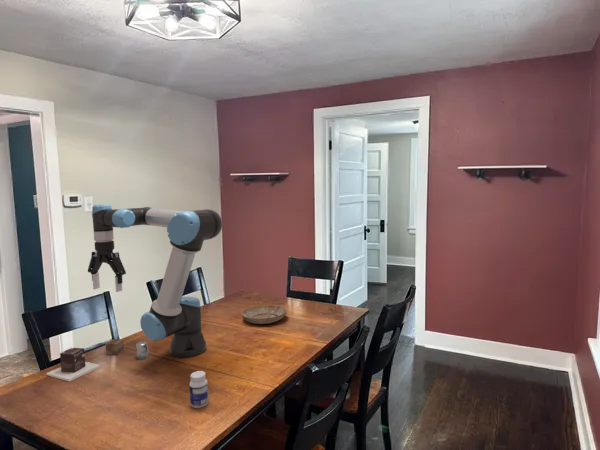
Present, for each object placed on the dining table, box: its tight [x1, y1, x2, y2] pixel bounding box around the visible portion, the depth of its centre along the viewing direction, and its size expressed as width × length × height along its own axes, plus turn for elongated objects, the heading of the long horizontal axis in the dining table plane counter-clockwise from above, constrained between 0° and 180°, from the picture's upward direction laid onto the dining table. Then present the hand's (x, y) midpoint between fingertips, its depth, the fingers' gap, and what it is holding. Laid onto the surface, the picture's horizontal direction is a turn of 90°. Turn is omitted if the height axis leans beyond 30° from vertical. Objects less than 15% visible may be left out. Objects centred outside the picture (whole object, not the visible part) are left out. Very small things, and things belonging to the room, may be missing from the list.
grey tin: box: [135, 340, 149, 361], centre depth 169 cm, size 4×4×6 cm
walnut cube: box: [104, 338, 125, 356], centre depth 175 cm, size 5×5×5 cm
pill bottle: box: [188, 370, 210, 409], centre depth 131 cm, size 6×6×10 cm
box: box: [59, 347, 86, 373], centre depth 157 cm, size 6×6×7 cm
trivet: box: [46, 361, 101, 382], centre depth 158 cm, size 13×13×1 cm
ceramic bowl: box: [241, 304, 287, 325], centre depth 213 cm, size 23×24×5 cm
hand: (107, 289), depth 176 cm, fingers open, 13 cm apart
